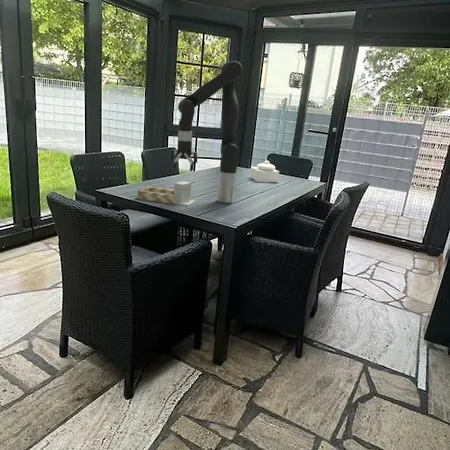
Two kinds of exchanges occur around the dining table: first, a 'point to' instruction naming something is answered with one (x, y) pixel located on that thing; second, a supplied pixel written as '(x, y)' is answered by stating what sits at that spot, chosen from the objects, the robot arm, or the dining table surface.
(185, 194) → the small box
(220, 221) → the dining table surface
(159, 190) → the beige piece
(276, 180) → the butter dish
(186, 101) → the robot arm
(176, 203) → the mat
